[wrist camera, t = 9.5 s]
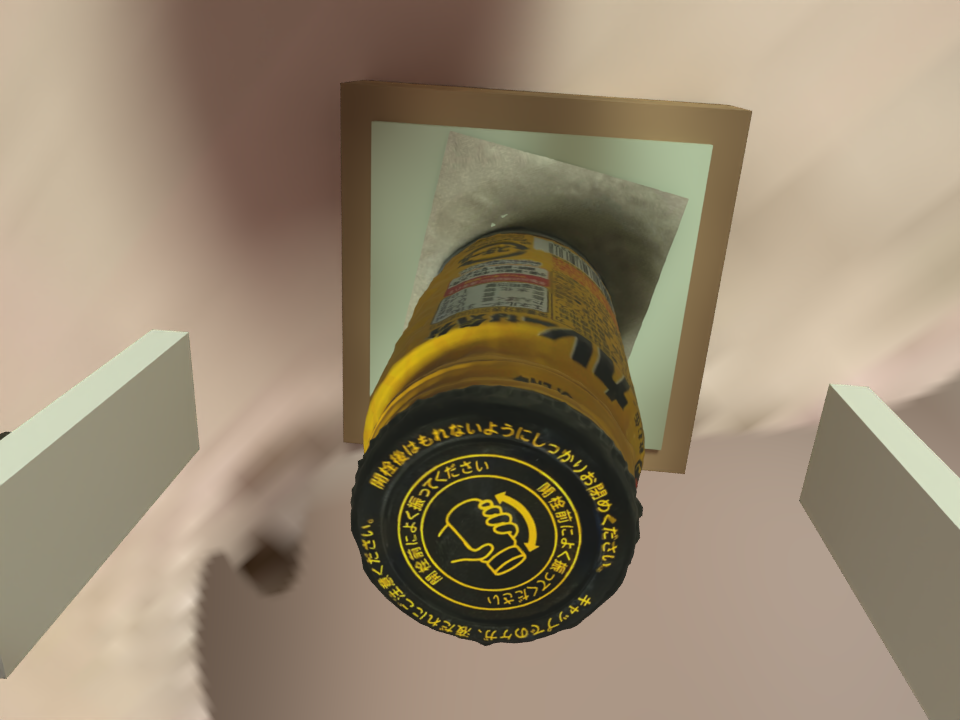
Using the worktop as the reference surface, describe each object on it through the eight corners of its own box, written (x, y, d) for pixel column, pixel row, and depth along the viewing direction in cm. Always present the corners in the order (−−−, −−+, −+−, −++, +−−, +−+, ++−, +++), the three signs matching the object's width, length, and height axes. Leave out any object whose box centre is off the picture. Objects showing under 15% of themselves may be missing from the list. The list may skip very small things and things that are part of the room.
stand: (362, 406, 30) (341, 446, 27) (363, 80, 25) (338, 83, 22) (671, 434, 29) (686, 478, 26) (728, 105, 24) (754, 112, 21)
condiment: (390, 382, 26) (271, 632, 14) (450, 129, 22) (356, 201, 11) (598, 438, 26) (637, 730, 15) (687, 196, 22) (825, 332, 11)
